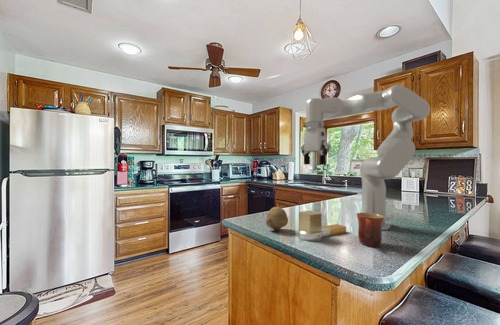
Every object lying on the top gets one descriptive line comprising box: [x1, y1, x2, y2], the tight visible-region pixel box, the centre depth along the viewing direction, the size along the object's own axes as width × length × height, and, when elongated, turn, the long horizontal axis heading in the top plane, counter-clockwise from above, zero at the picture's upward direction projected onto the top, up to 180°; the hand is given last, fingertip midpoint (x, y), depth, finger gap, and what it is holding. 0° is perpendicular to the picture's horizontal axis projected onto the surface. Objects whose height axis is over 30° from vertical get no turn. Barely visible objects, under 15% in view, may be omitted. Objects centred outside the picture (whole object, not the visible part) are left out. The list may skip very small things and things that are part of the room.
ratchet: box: [297, 223, 347, 242], centre depth 89 cm, size 22×9×6 cm, turn 118°
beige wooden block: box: [298, 210, 323, 234], centre depth 86 cm, size 6×6×7 cm
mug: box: [356, 212, 384, 248], centre depth 78 cm, size 12×9×10 cm
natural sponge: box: [265, 206, 289, 231], centre depth 94 cm, size 9×9×10 cm
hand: (314, 164), depth 100 cm, fingers open, 9 cm apart
